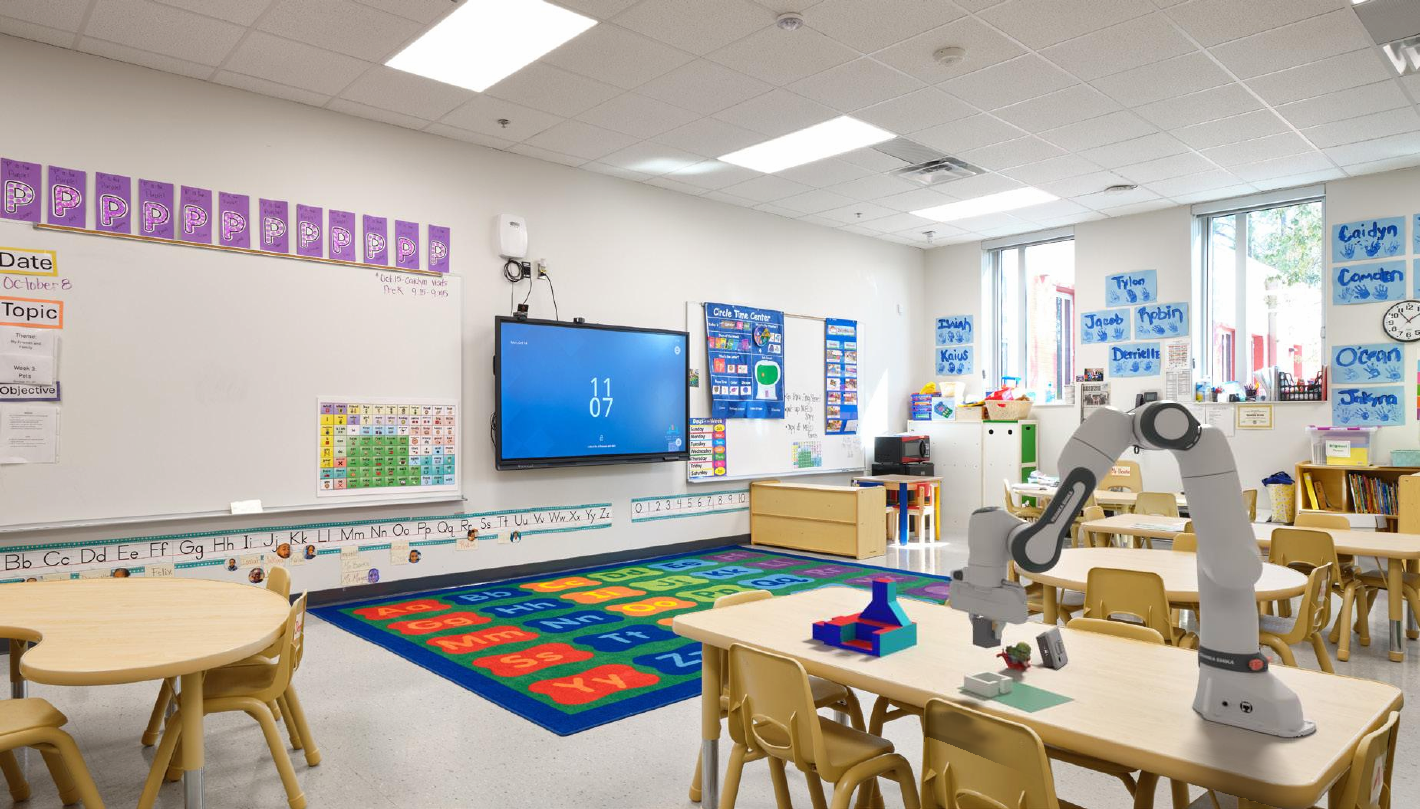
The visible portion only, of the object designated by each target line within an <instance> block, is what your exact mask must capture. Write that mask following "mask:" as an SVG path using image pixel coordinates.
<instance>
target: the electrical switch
mask: <svg viewBox="0 0 1420 809" xmlns="http://www.w3.org/2000/svg"><path fill="white" fill-rule="evenodd" d="M1035 639H1036V643H1037V646H1038V650H1039V653H1040V657H1041V661H1042V664H1043V667H1044V668H1047V667H1053V668H1054V669H1055V670H1059V669H1061V668H1062V667H1063V666H1064V665H1065V664H1067V663H1068V662H1069V659H1068V654H1067V650H1066V648H1065V644H1064V641H1063V638H1062V635H1061V632H1060V628H1059V626H1055V627H1053V628H1052V629H1049V630H1048V631H1043V632H1042V633H1040V634H1039V635H1037V636H1035Z"/></svg>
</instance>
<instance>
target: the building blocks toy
mask: <svg viewBox="0 0 1420 809" xmlns="http://www.w3.org/2000/svg"><path fill="white" fill-rule="evenodd" d="M871 582H872V583H871V590H872V591H871V593H872V594H871V595H872V596H871V601H870V602H869V603H868V605H867V606H866V607H865V608H864V610H862V611H860V612H857V613H853V614H850V615H845V616H844V615H837V616H834V617H831V619H830V620H828V621H825V620H820V621H815V622H812V625H811V628H812V634H811V637H812V640H816V641H819V642H822V643H823V645H826V646H829V647H834V648H838V649H843V650H847V651H852V652H855V653H859V654H865V655H869V656H872V657H877V658H882V657H885V656H888V655H891V654H894V653H897V652H899V651H903V650H905V649H908V648H912V647H915V646H917V644H918V636H917V634H918V622H916V621H911V620H910V617H908V615H907V614H906V612H905V611H904V609H903V608H902V606H901V605H900V603H899V602H898V600H897V598H898V597H897V588H898V587H897V583H898V582H897V580H895V579H889V578H884V577H883V578H882V577H880V578H875V579H872V581H871Z"/></svg>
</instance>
